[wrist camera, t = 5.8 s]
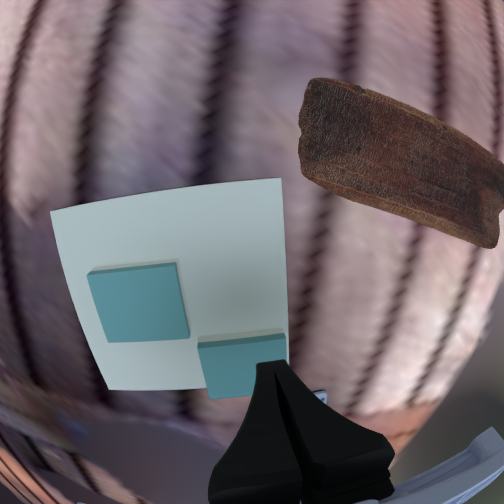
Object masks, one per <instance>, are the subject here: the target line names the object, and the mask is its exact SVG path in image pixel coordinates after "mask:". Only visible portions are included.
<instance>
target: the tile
mask: <svg viewBox="0 0 504 504" xmlns="http://www.w3.org/2000/svg"><path fill="white" fill-rule="evenodd" d="M86 276H87V280H88V283H89V287H90V290H91V294H92V297H93V300H94V303H95V306H96V310H97V313H98V316H99V319H100V322H101V324H102V327H103V330H104V333H105V336H106V338H107V341H108V343H120V342H145V341H164V340H178V339H190V333H191V324H190V319H189V315H188V310H187V305H186V300H185V295H184V290H183V284H182V279H181V274H180V268H179V262H178V258H174V259H165V260H156V261H147V262H139V263H130V264H121V265H112V266H103V267H95V268H93V269H92V270H91V271H90V272H89V273H88V274H87V275H86Z"/></svg>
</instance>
